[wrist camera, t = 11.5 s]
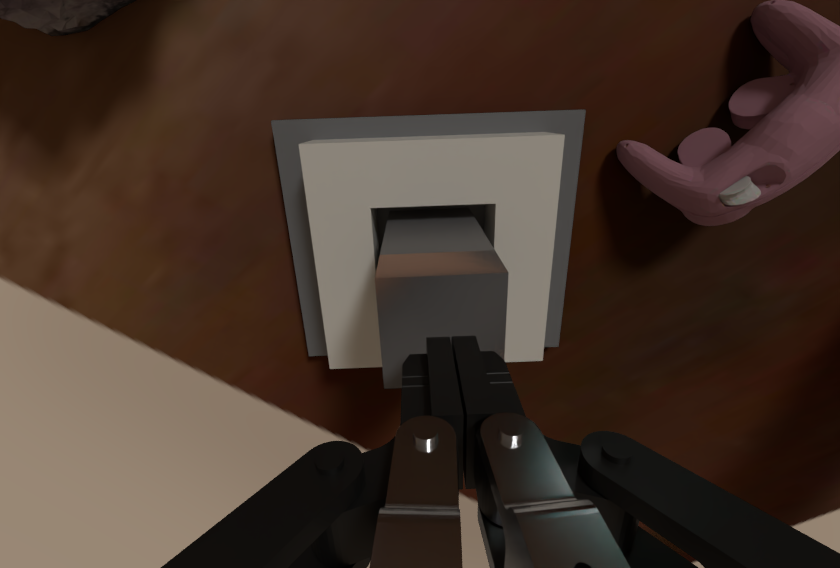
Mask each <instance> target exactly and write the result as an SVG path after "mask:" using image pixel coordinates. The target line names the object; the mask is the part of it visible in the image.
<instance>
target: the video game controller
mask: <svg viewBox="0 0 840 568" xmlns="http://www.w3.org/2000/svg"><path fill="white" fill-rule="evenodd" d="M750 22H751V24H752V28H753V32H754V34H755V35H756V37H757V38H758V40H759V42H760V43H761V45H762V46H763V47H764V48H765V49H766V50H767V51H768V52H769V53H770V54H771V55H772V56H773V57H774V58H775V59H776V60H777V61H778V62H779V63H780V64H782V65H783V66H784V67H785V68H786V69H788V70H789V74H787V75H782V76H777V77H767V78H759V79H755V80H752V81H749V82H747V83H746V84H744V85H742V86H741V87H740V88H738V89H737V90H736V91H735V92H734V94H733V95H732V97H731V98H730V101H729V105H728V106H729V110H730V114H731V118H732V122H733V123H734V125H736V126H737V127H739V128H743V129H751V130H749V131H748V132H747V133H746V134H745V135H744V136H743V137H742V138H741V139H739V140H738V141H737V142H736V143H735V144H734V145H733V146H732V144H731V140H730V138H729V135H728V134H727V133H726V132H725V131H723V130H721V129H718V128H704V129H701V130H699V131H696V132H694V133H692V134H691V135H689V136H688V137H687V138H685V139H684V140H683V141H682V143H681V144H680V145H679V148H678V155H679V161H680V163H681V164H680V163H677V162H675V161H673V160H670V159H669V158H667V157H665V156H664V155H662V154H660V153H659V152H657V151H655V150H654V149H652V148H651V147H649V146H647V145H646V144H643V143H639V142H636V141H630V140H625V141H621V142H619V144H618V145H617V148H616V152H617V157H618V159H619V161H620V162H621V164H622V165H623V166H624V167H625V168H626V170H627V171H628V172H629V173H630V174H631V175H632V176H633V177H634V178H635V179H636V180H638V181H639V182H640V183H641V184H643V185H644V186H645V187H647V188H648V189H649V190H651V191H652V192H653V193H655V194H656V195H657V196H659V197H660V198H662V199H664V200H665V201H667V202H668V203H670V204H671V205H673V206H674V207H676V208H678V209H679V210H681V211H682V213H683V214H684V216H685V217H686V218H687V219H689V220H690V221H692V222H694V223H696V224H698V225H704V226H716V225H722V224H726V223H730V222H733V221H735V220H737V219H739V218H741V217H743V216H744V215H746V214H747V213H748V212H749V211H750V210H752V208H754V207H756V206H759V205H761V204H763V203H765V202H768V201H770V200H772V199H773V198H775V197H777V196H779V195H781V194H782V193H784V192H786V191H788V190H789V189H791V188H792V187H794V186H795V185H797V184H798V183H800V182H801V181H803V180H804V179H806V178H807V177H808V176H810V175H811V174H812V173H814V172H815V171H816V170H817V169H819V168H820V167H821V166H822V165H824V164H825V163H826V162H827V161H828V160H829V159H830V158H831V157H833V156H834V155H835V154H836V153H837V152H838V151H839V150H840V26H838V25H836V24H834V23H833V22H831V21H829V20H827V19H826V18H824V17H822V16H821V15H819V14H817V13H815V12H814V11H812V10H810V9H809V8H807V7H804V6H802V5H800V4H798V3H796V2H793V1H785V0H771V1H767V2H764V3H761V4H760V5H758V6H757V7H756V8H755V9H754V11H753V13H752V16H751V19H750Z"/></svg>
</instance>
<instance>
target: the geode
mask: <svg viewBox="0 0 840 568" xmlns="http://www.w3.org/2000/svg"><path fill="white" fill-rule="evenodd" d="M134 1H136V0H0V18H1V19H5V20H9V21H13V22H16V23H17V24H19V25H21V26H22V27H24V28H36V29H38V30H40V31H42V32H44V33H46V34H49V35H51V36H59V35H68V34H72V33H77V32H82V31H86V30H89V29H90V28H92V27H93V26H94V25H96V24H97V23H99V22H100V21H102V20H103V19H105V18H106V17H108V16H109V15H111V14H113V13H114V12H116V11H117V10H119V9H120V8H122V7H124V6H126V5H128V4H130V3H132V2H134Z"/></svg>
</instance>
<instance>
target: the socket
mask: <svg viewBox="0 0 840 568" xmlns="http://www.w3.org/2000/svg"><path fill="white" fill-rule="evenodd" d="M585 111H586V110H557V111H528V112H500V113H471V114H442V115H413V116H384V117H356V118H327V119H298V120H272V121H271V123H272V130H273V136H274V142H275V148H276V155H277V161H278V167H279V173H280V179H281V186H282V192H283V198H284V204H285V211H286V217H287V223H288V229H289V235H290V242H291V248H292V254H293V260H294V267H295V273H296V279H297V285H298V291H299V298H300V304H301V310H302V316H303V323H304V329H305V335H306V341H307V347H308V354H309V356H328V360H329V367H330V369H343V368H369V367H382V358H381V346H380V335H379V323H378V312H377V300H376V288H375V274H376V270H377V265H378V261H379V256H380V252H381V247H382V242H383V238H384V233H385V229H386V224H387V220H388V215H389V211H399V210H423V209H447V208H469V209H470V210H471V212H472V214H473V215H474V217H475V219H476V220H477V222H478V223H479V225H480V227H481V228H482V230H483V232H484V233H485V235H486V237H487V238H488V240H489V241H490V243H491V245H492V246H493V248H494V250H495V251H496V253H497V255H498V256H499V258H500V259H501V261H502V263H503V264H504V266H505V268H506V269H507V271H508V273H509V275H508V295H507V315H506V335H505V355H504V360H505V362H523V361H543V351H544V347H558V346H559V337H560V329H561V320H562V311H563V303H564V294H565V285H566V277H567V268H568V259H569V250H570V242H571V233H572V224H573V216H574V207H575V198H576V189H577V181H578V172H579V163H580V155H581V146H582V137H583V128H584V120H585Z"/></svg>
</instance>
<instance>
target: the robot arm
mask: <svg viewBox="0 0 840 568" xmlns="http://www.w3.org/2000/svg"><path fill="white" fill-rule="evenodd" d="M426 351H427V354H410V355H409V356H408V357H407V359H406V360H405V362H404V363H403V364H402V395H401V424H400V427H399V428H398V430H397V432H396V436H395V437H394V438H393V439H392V440H391V441H390V442H388V443H387V444H385V445H383V446H382V447H379V448H377V449H374V450H371V451H367V452H364V453H361V451H360V450H359V449H358V448H357V447H356V446H355V445H353V444H351V443H348V442H344V441H331V442H327V443H323V444H320V445H318V446H316V447H314V448H313V449H311V450H310V451H309V452H307V453H306V454H305V455H303V456H302V457H301V458H300V459H298V460H297V461H296V462H295V463H293V464H292V465H291V466H289V467H288V468H287V469H286V470H284V471H283V472H282V473H281V474H279V475H278V476H277V477H275V478H274V479H273V480H272V481H270V482H269V483H268V484H267V485H265V486H264V487H263V488H261V489H260V490H259V491H258V492H256V493H255V494H254V495H253V496H251V497H250V498H249V499H248V500H246V501H245V502H244V503H242V504H241V505H240V506H239V507H237V508H236V509H235V510H234V511H232V512H231V513H230V514H228V515H227V516H226V517H225V518H223V519H222V520H221V521H220V522H218V523H217V524H216V525H214V526H213V527H212V528H211V529H209V530H208V531H207V532H206V533H205V534H203V535H202V536H201V537H199V538H198V539H197V540H196V541H194V542H193V543H192V544H190V545H189V546H188V547H187V548H185V549H184V550H183V551H181V552H180V553H179V554H178V555H176V556H175V557H174V558H173V559H171V560H170V561H169V562H167V564H165V565H164V566H162V567H161V568H367V566H368V565H369V563H370V568H462V546H461V522H460V510H459V501H458V500H459V489H463V473H464V480H465V487H466V489H476V492H477V497H478V521H479V525H480V530H481V534H482V538H483V542H484V545H485V550H486V554H487V558H488V562H489V566H490V568H698V567H697V566H695V565H694V564H692V563H691V562H689V561H688V560H686V559H685V558H684V557H682V556H681V555H679V554H678V553H676V552H675V551H674V550H672V549H671V548H669V547H668V546H666V545H665V544H663V543H662V542H661V541H659V540H658V539H656V538H655V537H653V536H652V535H651V534H649V533H648V532H646V531H645V530H643V529H642V528H640V527H639V526H638V524H639V521H641V522H642V523H644V524H645V525H647V526H648V527H649V528H651V529H652V530H654V531H655V532H657V533H658V534H660V535H661V536H663V537H664V538H666V539H667V540H668V541H670V542H671V543H673V544H674V545H676V546H677V547H679V548H680V549H682V550H683V551H685V552H686V553H687V554H689V555H690V556H692V557H693V558H695V559H696V560H697V561H698V562H700V563H701V564H702V565H703V566H704V567H705V568H840V553H838V552H836V551H834V550H832V549H830V548H829V547H827V546H825V545H823V544H821V543H820V542H818V541H816V540H814V539H812V538H810V537H809V536H807V535H805V534H803V533H801V532H800V531H798V530H796V529H794V528H792V527H791V526H789V525H787V524H785V523H783V522H782V521H780V520H778V519H776V518H774V517H772V516H771V515H769V514H767V513H765V512H763V511H762V510H760V509H758V508H756V507H754V506H753V505H751V504H749V503H747V502H745V501H743V500H742V499H740V498H738V497H736V496H734V495H733V494H731V493H729V492H727V491H725V490H724V489H722V488H720V487H718V486H716V485H714V484H713V483H711V482H709V481H707V480H705V479H704V478H702V477H700V476H698V475H696V474H694V473H693V472H691V471H689V470H687V469H685V468H684V467H682V466H680V465H678V464H676V463H675V462H673V461H671V460H669V459H667V458H665V457H664V456H662V455H660V454H658V453H656V452H655V451H653V450H651V449H649V448H647V447H646V446H644V445H642V444H640V443H638V442H636V441H635V440H633V439H631V438H629V437H627V436H625V435H622V434H619V433H615V432H609V431H598V432H593V433H591V434H589V435H587V436H586V437H585V438H584V439H583V441H582V444H581V446H580V445H576V444H571V443H566V442H561V441H557V440H554V439H551V438H548V437H546V436H544V435H543V434H542V433H541V431H540V429H539V427H538V426H537V425H536V424H535V423H534V422H533V421H532V420H530V419H529V418H527V417H526V416H525V413H524V410H523V408H522V405H521V402H520V400H519V397H518V395H517V392H516V389H515V387H514V384H513V383H512V379H511V376H510V374H509V371H508V368H507V366H506V363H505V360H504V359H502V358H501V357H500V356H499V355H498V354H497V353H496V352H495V351H480V348H479V345H478V342H477V338H476V336H475V335H473V336H452V338H451V341H450V337H426ZM370 561H371V562H370Z"/></svg>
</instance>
